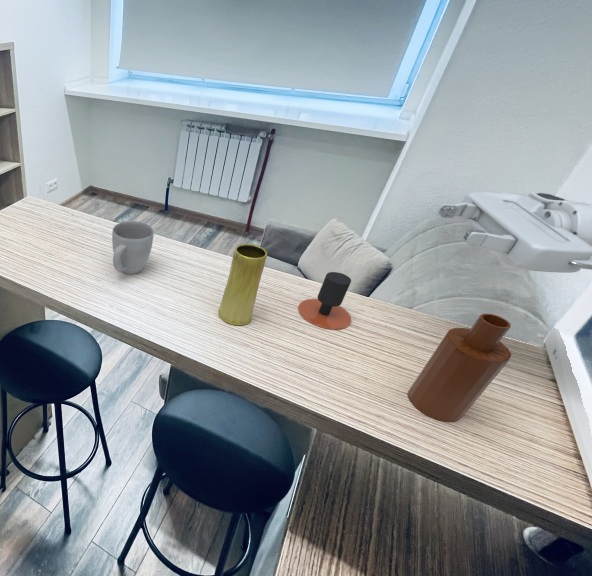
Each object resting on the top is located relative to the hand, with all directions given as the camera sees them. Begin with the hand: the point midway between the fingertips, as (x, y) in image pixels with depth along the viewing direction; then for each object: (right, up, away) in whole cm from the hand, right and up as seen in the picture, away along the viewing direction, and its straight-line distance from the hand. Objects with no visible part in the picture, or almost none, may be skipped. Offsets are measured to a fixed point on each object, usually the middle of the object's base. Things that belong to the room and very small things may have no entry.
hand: (453, 222), depth 63 cm
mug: (-47, -6, +29) cm, 56 cm away
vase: (-28, -16, +15) cm, 36 cm away
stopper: (-11, -12, +13) cm, 21 cm away
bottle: (-5, -27, -3) cm, 28 cm away
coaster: (-11, -15, +15) cm, 24 cm away
